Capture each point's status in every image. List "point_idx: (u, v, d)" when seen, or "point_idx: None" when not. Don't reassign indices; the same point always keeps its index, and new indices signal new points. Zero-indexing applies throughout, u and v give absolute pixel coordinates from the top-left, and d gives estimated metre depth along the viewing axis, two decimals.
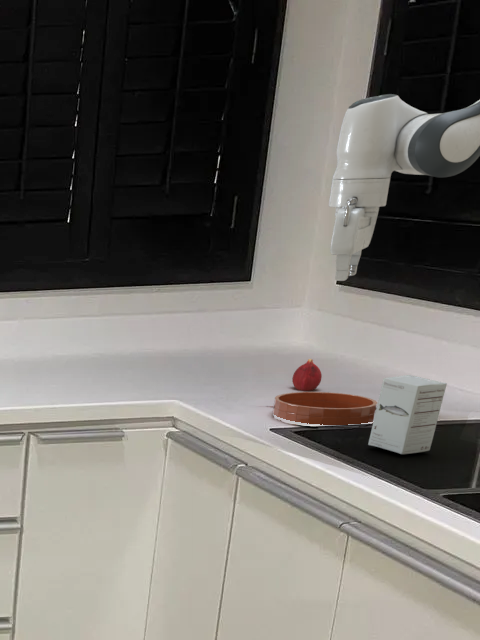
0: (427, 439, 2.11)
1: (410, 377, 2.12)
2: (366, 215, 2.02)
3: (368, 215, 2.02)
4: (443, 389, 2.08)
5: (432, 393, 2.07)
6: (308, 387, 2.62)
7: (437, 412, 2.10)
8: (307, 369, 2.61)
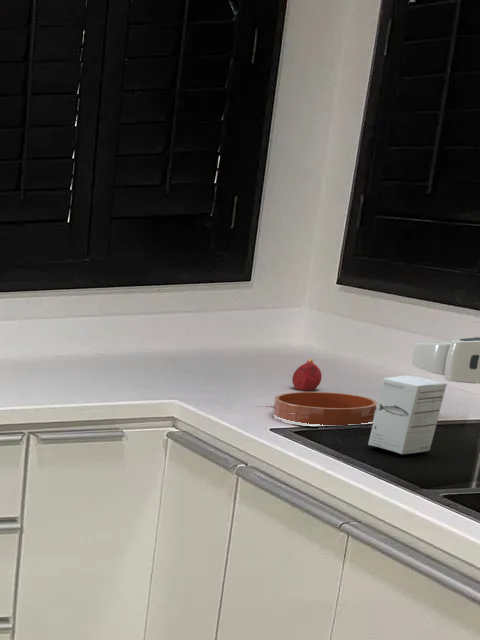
0: (427, 439, 2.11)
1: (410, 377, 2.12)
2: None
3: None
4: (443, 389, 2.08)
5: (432, 393, 2.07)
6: (308, 387, 2.62)
7: (437, 412, 2.10)
8: (307, 369, 2.61)
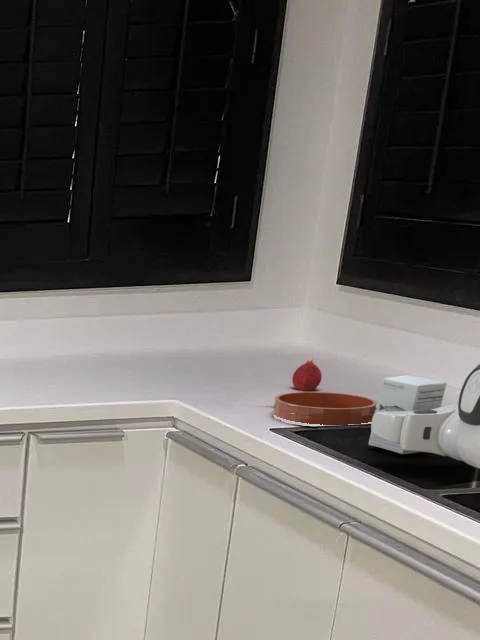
0: None
1: (410, 377, 2.12)
2: None
3: None
4: (443, 389, 2.08)
5: (432, 393, 2.07)
6: (308, 387, 2.62)
7: None
8: (307, 369, 2.61)
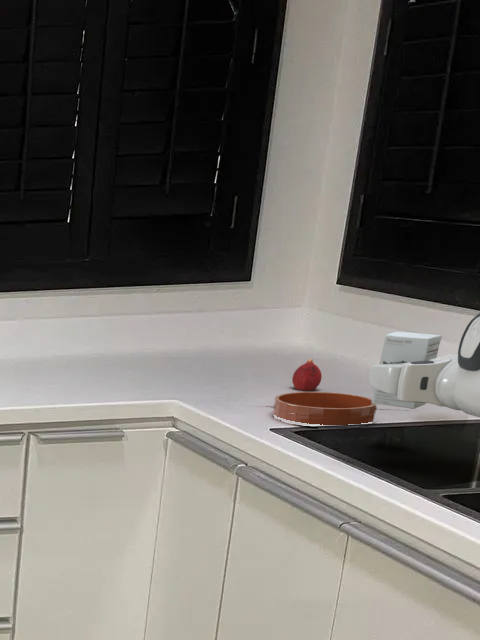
0: None
1: (404, 332, 2.12)
2: None
3: None
4: (439, 341, 2.10)
5: (434, 346, 2.08)
6: (308, 387, 2.62)
7: None
8: (307, 369, 2.61)
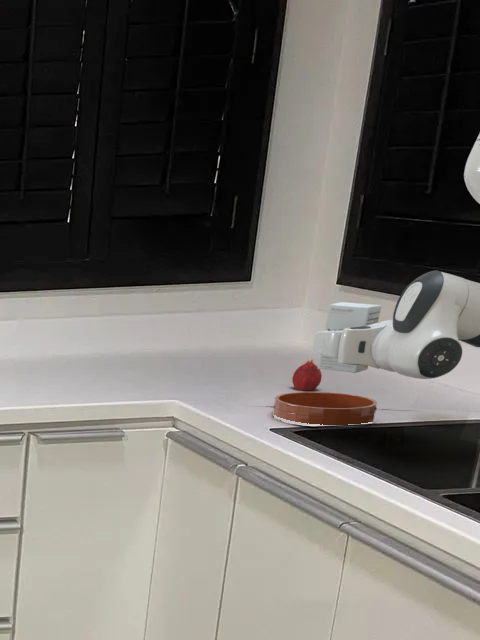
0: None
1: (347, 303, 2.29)
2: None
3: None
4: (379, 311, 2.27)
5: (374, 314, 2.26)
6: (308, 387, 2.62)
7: None
8: (307, 369, 2.61)
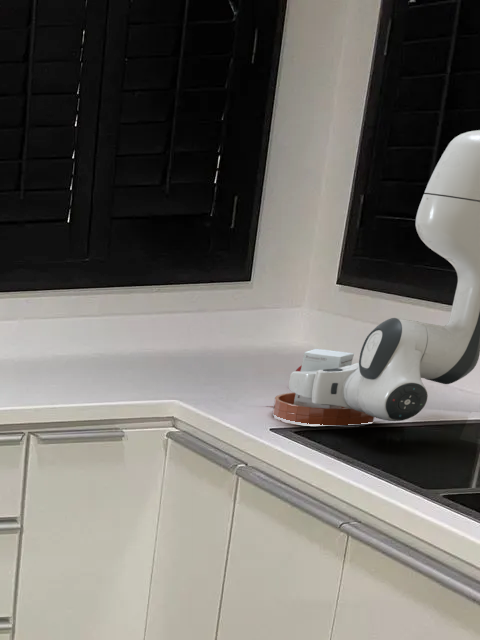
0: None
1: (321, 350, 2.39)
2: None
3: None
4: (351, 359, 2.37)
5: (346, 363, 2.36)
6: None
7: None
8: None
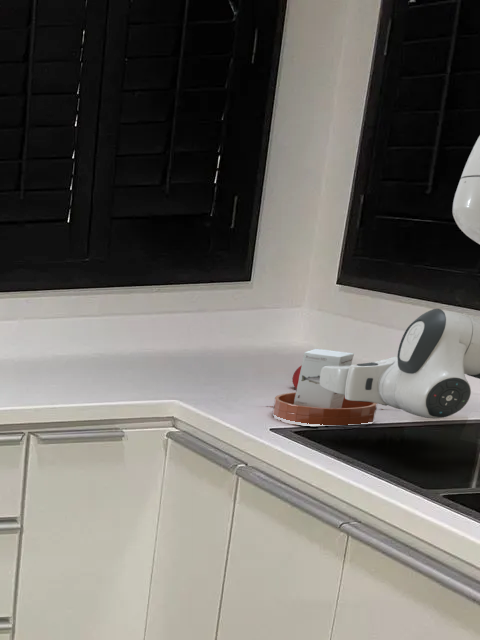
0: (340, 403, 2.40)
1: (321, 350, 2.39)
2: None
3: None
4: (351, 359, 2.37)
5: (346, 363, 2.36)
6: None
7: None
8: None
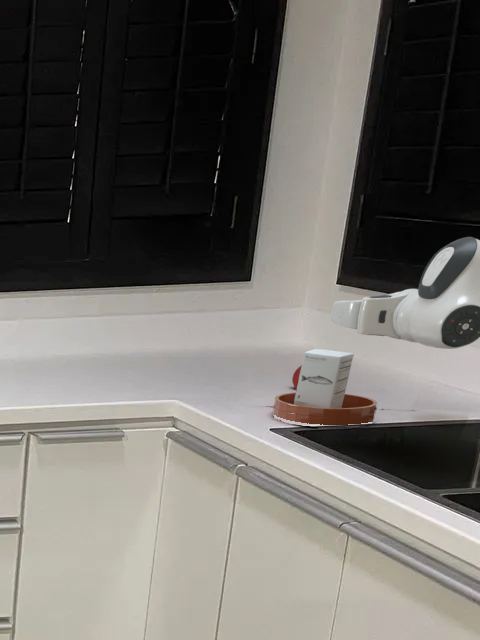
0: (340, 403, 2.40)
1: (321, 350, 2.39)
2: None
3: None
4: (351, 359, 2.37)
5: (346, 363, 2.36)
6: None
7: (347, 379, 2.39)
8: None
